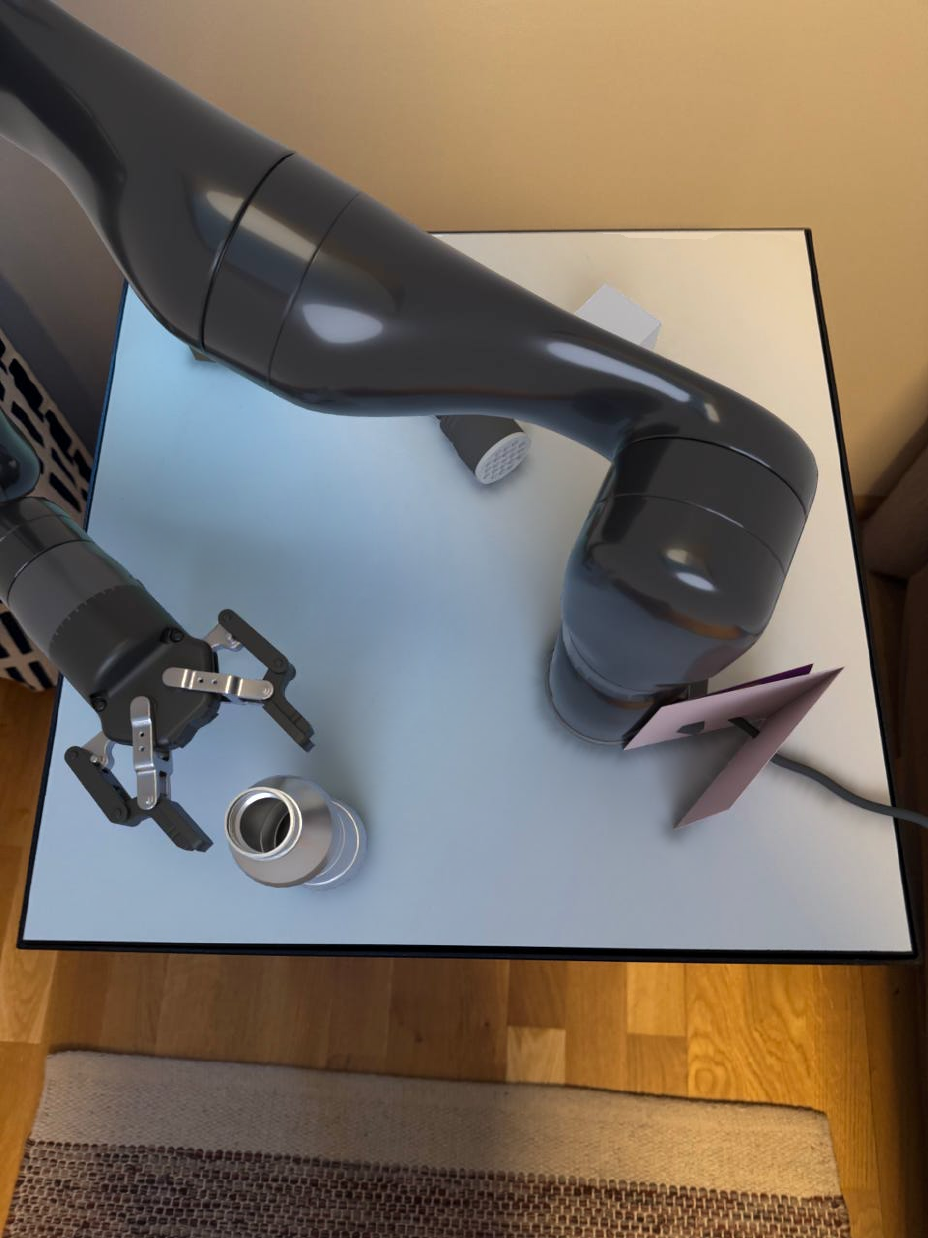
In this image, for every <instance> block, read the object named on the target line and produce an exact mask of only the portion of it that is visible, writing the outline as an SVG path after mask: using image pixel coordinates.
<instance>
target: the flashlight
mask: <svg viewBox="0 0 928 1238" xmlns="http://www.w3.org/2000/svg"><path fill="white" fill-rule="evenodd" d="M434 417H435V418H436V419H437V420H438V421H439V428H440V432H442V433H443V434H444V436H445V437H446V438H447V439H448V441H449V442H450V443H452V444H453V446H454V449H455V451H456V453H457V456H458V457H459V459H460V460H461V461H462V462H463V464H465V466H466V467H467V468H468V469H469V471H470V472H471V473H472V474H473V475H474V477H475V478H476V479H477V481H478V482H479V483H481V484H484V485H485V484H486V485H488V484H492V483H495V482H497V481H499V480H502V479H503V478H504V477H506V476H507V475H509V474H510V473H512V471H514V470H515V469H516V468H517V467H518V466H519V465H520V463H522V461H524V459H525V458H526V456H527V455H528V453H529V451H530V449H531V446H532V440H531V439H532V438H530V437H529V435H528V434H527V433H526V432H525V431H524V429H523V428H522V427H521V426H520V425H519V424H518V423H517V421H516V419H511V418H505V417H499V416H488V415H434Z"/></svg>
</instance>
